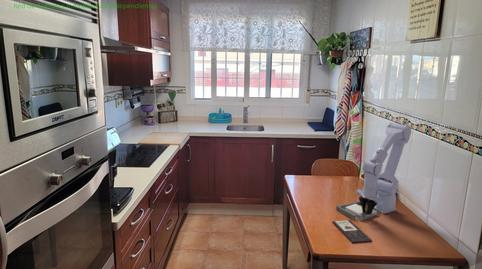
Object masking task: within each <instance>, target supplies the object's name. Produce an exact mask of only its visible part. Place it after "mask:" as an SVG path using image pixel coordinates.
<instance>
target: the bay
mask: <svg viewBox="0 0 482 269" xmlns="http://www.w3.org/2000/svg"><path fill="white" fill-rule="evenodd" d="M353 204H357V205H359V206H361V202H360V200H358V201H353V202H349V203H344V204H340V205H336V206H335V207H336V208H335V210H336V211H338V212H339V213H341V214H343V215H344V216H347V217H348V218H350V219H352V220H354V221H355V220H356V216H355V215H354V214H352V213H350V212H348V211H346V210H345V207H348V206H350V205H353ZM373 210H376V211H377V215H378V214H379V213H380V212H379V209H377V208H375V207H374V209H373Z"/></svg>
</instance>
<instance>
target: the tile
mask: <svg viewBox="0 0 482 269" xmlns="http://www.w3.org/2000/svg"><path fill="white" fill-rule="evenodd" d="M345 210H346V211H348V212H350V213H352V214H354V215H355V216H356V215H357V214H359V213H362V206H361V205H357V204H353V205H350V206H348V207H345Z"/></svg>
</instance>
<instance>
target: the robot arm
mask: <svg viewBox="0 0 482 269" xmlns="http://www.w3.org/2000/svg"><path fill="white" fill-rule="evenodd" d="M411 133H412V128H411V126H410V125H406V124H402V123H401V124H399V123H394V122H389V123H388V124H387V125H386V129H385V137H384V138H383V141H382V143H381V144H380V147H379V148H376V149H375V150H374V151H373V154H372V155H371V157H370V159H369V160H367V161H365V162H364V164H363V167H362V170H363V176H364V180H363V187H362V188H363V190H362V189H356V190H355V195H360V196H359V197H358V201H360V202H361V205H360V206H362V212H365V203H366V202H367V207H368V209H367V214H368V215H370V214H372V211H373V209H374V207H375V208H377V209H379V213H382V214H387V213H392V212H396V211H397V209H396V203H397V196H396V195H397V194H396V193H397V191H398V188H399V180H398V179H397V177H396V176H395V175H396V172H397V169H398V165H399V162H400V160H401V156H402V154H403V151H404V147H405V145H407V144H408V143H409V141H410V138H411V135H412V134H411ZM390 148H391V149H390ZM389 150H390V152H389V155H388V151H389ZM387 157H388V159H387ZM386 159H387V161H386V165H385V167H384V169H383V164H384V163H385V160H386ZM382 169H383V172H382Z"/></svg>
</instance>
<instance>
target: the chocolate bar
mask: <svg viewBox="0 0 482 269" xmlns="http://www.w3.org/2000/svg"><path fill="white" fill-rule="evenodd" d="M331 223H332V224H333V225H334V227H336V229H338V231H339V232H340V233H342V235H344V237H346V238H347V240H348V241H349V242H350V243H351V244H359V243H371V242H373V240H372V239H371V238H370V237H369V236H368V235H367V234H366V233H364V232H363V230H361V229H360V228H359V227H358V226H357V225H356V224H354V223H353V221H351V220H349V219H348V220H337V221H336V220H334V221H331Z"/></svg>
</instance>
